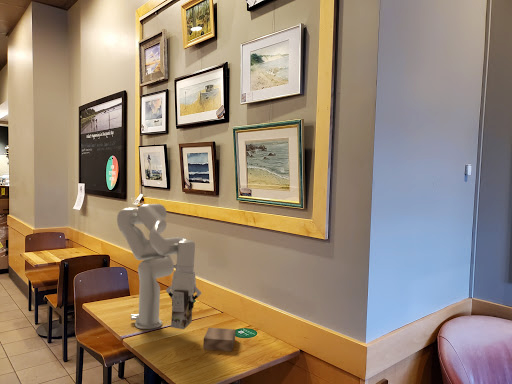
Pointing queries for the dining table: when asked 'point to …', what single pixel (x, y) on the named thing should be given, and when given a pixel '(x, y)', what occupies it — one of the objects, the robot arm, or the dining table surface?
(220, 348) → the walnut block
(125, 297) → the dining table surface
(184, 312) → the coffee box
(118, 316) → the dining table surface
